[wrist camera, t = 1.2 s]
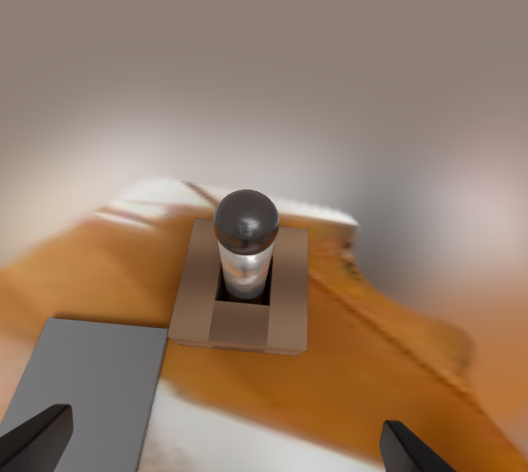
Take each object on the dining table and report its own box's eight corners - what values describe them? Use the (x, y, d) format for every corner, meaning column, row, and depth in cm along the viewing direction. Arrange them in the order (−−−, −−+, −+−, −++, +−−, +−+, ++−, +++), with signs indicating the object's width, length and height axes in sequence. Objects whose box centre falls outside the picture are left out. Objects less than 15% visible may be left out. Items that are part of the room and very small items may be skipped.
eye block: (296, 356, 22) (307, 349, 18) (179, 345, 21) (167, 336, 18) (299, 251, 26) (307, 229, 22) (201, 241, 26) (195, 217, 22)
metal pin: (262, 314, 23) (281, 240, 12) (223, 310, 23) (203, 232, 11) (265, 277, 25) (284, 179, 13) (228, 274, 24) (216, 171, 13)
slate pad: (134, 479, 18) (131, 482, 17) (-12, 467, 17) (-20, 469, 17) (169, 330, 22) (167, 329, 21) (53, 319, 22) (48, 317, 21)
